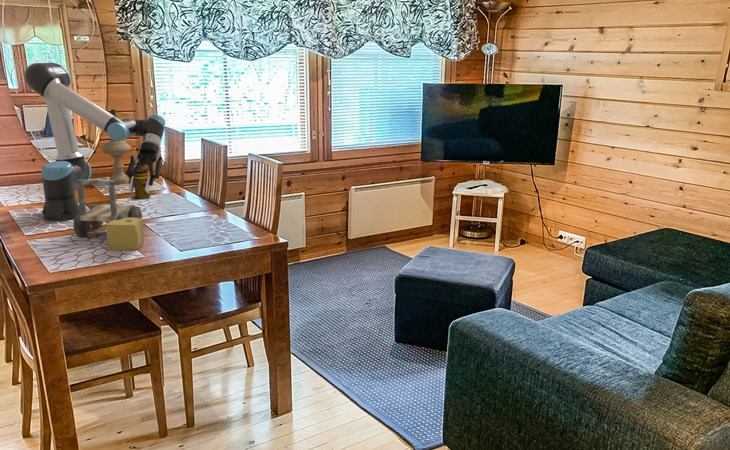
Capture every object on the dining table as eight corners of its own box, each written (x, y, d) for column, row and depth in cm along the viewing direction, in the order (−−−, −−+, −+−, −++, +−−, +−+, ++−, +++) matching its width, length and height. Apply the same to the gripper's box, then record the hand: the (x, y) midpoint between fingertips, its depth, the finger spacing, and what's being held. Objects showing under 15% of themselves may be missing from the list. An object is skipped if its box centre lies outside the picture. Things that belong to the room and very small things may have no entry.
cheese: (117, 242, 219) (114, 216, 216) (146, 242, 220) (144, 217, 217) (107, 250, 209) (105, 224, 206) (138, 250, 210) (136, 224, 207)
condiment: (153, 198, 241) (150, 170, 238) (132, 201, 237) (129, 172, 234) (149, 195, 247) (147, 167, 244) (128, 197, 243) (125, 169, 240)
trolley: (75, 238, 221) (68, 180, 214) (100, 223, 241) (94, 170, 235) (121, 240, 221) (116, 182, 214) (142, 225, 241) (138, 171, 234)
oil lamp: (139, 182, 320) (133, 110, 309) (112, 186, 309) (105, 111, 298) (125, 178, 330) (119, 108, 319) (100, 182, 319) (92, 109, 308)
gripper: (125, 140, 246) (112, 185, 234) (169, 141, 245) (158, 187, 234) (131, 150, 252) (119, 195, 241) (174, 152, 252) (164, 196, 241)
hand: (138, 191), depth 238 cm, fingers closed on condiment, 6 cm apart
